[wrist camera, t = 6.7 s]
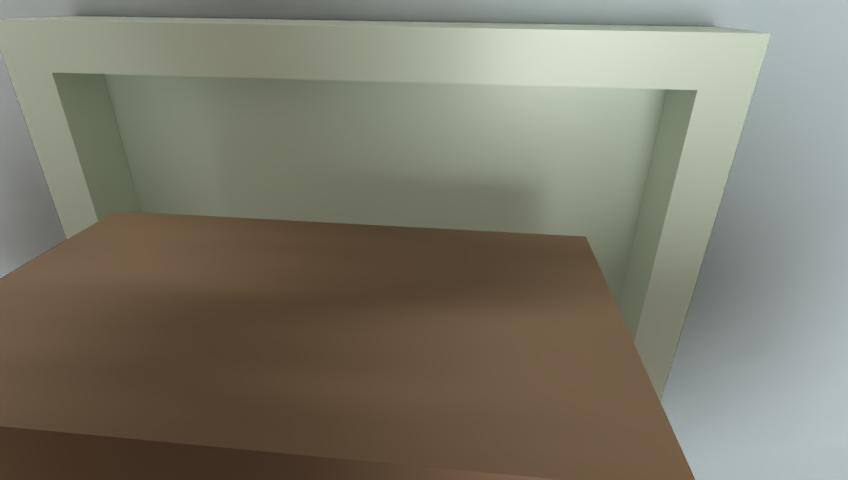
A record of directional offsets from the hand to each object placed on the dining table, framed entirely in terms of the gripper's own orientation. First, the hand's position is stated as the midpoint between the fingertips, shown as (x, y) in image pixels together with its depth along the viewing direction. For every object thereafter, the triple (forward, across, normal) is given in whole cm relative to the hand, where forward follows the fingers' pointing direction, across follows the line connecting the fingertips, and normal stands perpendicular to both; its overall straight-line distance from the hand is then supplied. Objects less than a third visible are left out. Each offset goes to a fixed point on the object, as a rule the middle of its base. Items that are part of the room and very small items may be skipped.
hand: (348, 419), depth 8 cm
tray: (+4, 0, 0) cm, 4 cm away
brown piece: (0, 0, 0) cm, 0 cm away
